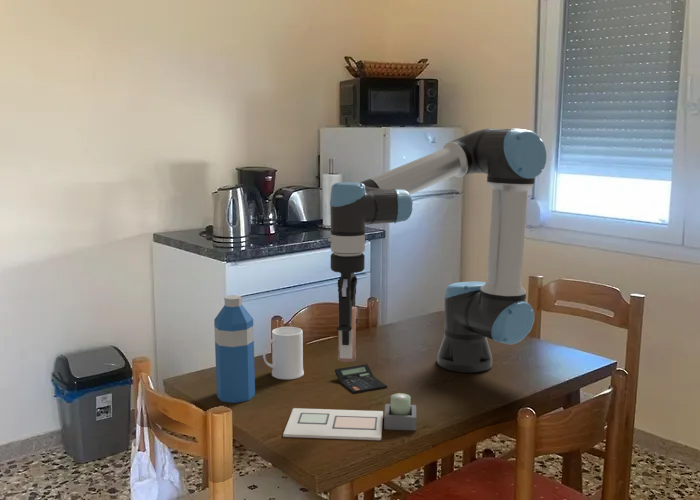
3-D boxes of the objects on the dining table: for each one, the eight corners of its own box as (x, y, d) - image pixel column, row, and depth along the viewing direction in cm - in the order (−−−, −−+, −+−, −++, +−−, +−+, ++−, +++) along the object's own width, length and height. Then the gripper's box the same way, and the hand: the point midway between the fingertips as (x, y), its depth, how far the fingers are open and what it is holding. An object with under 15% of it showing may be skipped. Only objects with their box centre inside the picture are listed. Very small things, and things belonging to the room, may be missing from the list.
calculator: (353, 394, 178) (353, 383, 177) (334, 379, 188) (334, 368, 188) (386, 388, 182) (387, 377, 181) (366, 374, 192) (366, 363, 192)
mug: (270, 384, 184) (269, 339, 181) (255, 374, 191) (254, 331, 188) (309, 375, 190) (309, 332, 188) (294, 366, 197) (293, 324, 195)
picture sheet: (383, 413, 166) (383, 410, 166) (381, 440, 152) (381, 437, 152) (293, 410, 167) (293, 407, 167) (283, 436, 154) (283, 433, 153)
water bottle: (218, 389, 181) (215, 292, 176) (255, 388, 181) (253, 292, 177) (214, 403, 171) (211, 302, 167) (254, 402, 172) (251, 301, 168)
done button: (410, 410, 162) (410, 393, 161) (410, 418, 158) (410, 400, 157) (390, 409, 162) (391, 392, 162) (390, 417, 158) (390, 400, 157)
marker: (356, 356, 164) (357, 300, 161) (354, 362, 160) (355, 305, 158) (339, 355, 164) (339, 300, 162) (337, 361, 160) (337, 304, 158)
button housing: (415, 417, 164) (416, 404, 163) (416, 430, 157) (416, 417, 156) (385, 416, 164) (385, 403, 164) (384, 429, 157) (384, 416, 157)
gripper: (335, 245, 166) (335, 342, 171) (324, 259, 150) (325, 366, 154) (368, 246, 166) (367, 343, 170) (360, 260, 149) (359, 368, 153)
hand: (347, 354), depth 162 cm, fingers closed on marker, 4 cm apart
